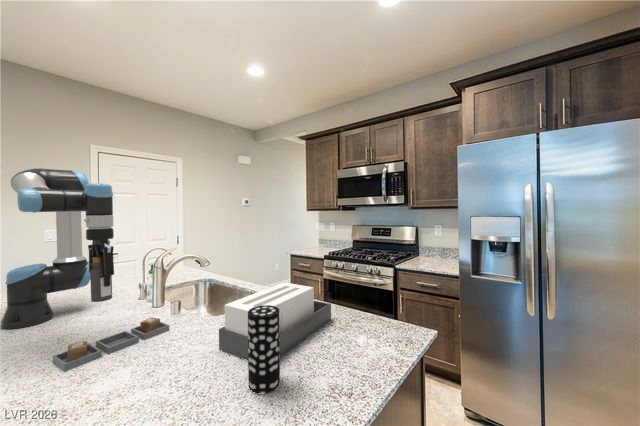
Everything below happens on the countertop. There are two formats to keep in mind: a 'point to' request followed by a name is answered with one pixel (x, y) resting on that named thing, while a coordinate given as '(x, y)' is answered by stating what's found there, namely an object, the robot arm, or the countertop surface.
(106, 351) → the dish
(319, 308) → the toaster caddy
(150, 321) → the cube
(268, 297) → the toaster
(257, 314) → the spotted tube
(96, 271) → the bottle
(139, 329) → the dish
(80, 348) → the cube
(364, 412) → the countertop surface
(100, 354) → the dish
